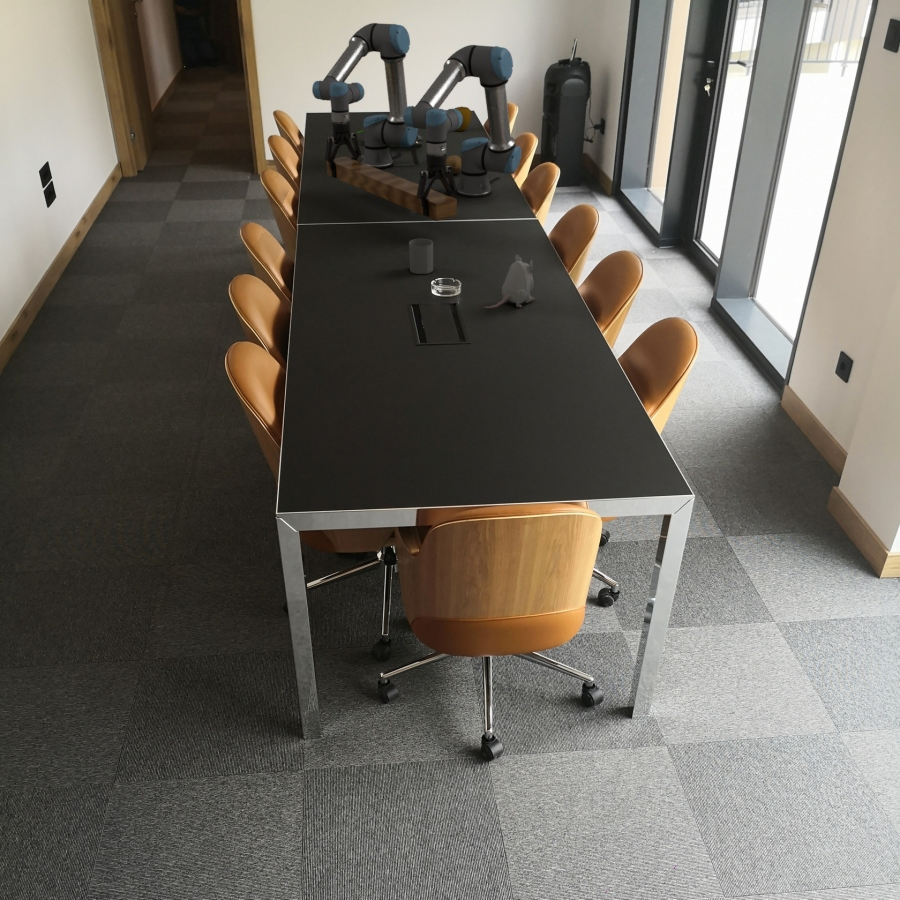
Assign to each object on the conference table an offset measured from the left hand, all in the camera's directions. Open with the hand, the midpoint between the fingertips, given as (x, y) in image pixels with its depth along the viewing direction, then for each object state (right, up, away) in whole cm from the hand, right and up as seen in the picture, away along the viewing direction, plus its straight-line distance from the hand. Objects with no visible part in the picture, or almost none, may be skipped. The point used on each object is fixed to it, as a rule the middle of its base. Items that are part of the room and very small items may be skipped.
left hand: (344, 175), depth 379 cm
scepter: (+10, +45, +88) cm, 99 cm away
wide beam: (+21, -15, -22) cm, 34 cm away
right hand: (+41, -29, -45) cm, 68 cm away
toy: (+65, -74, -99) cm, 140 cm away
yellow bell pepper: (+53, +61, +111) cm, 137 cm away
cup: (+36, -56, -71) cm, 98 cm away
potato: (+48, +12, +35) cm, 61 cm away
